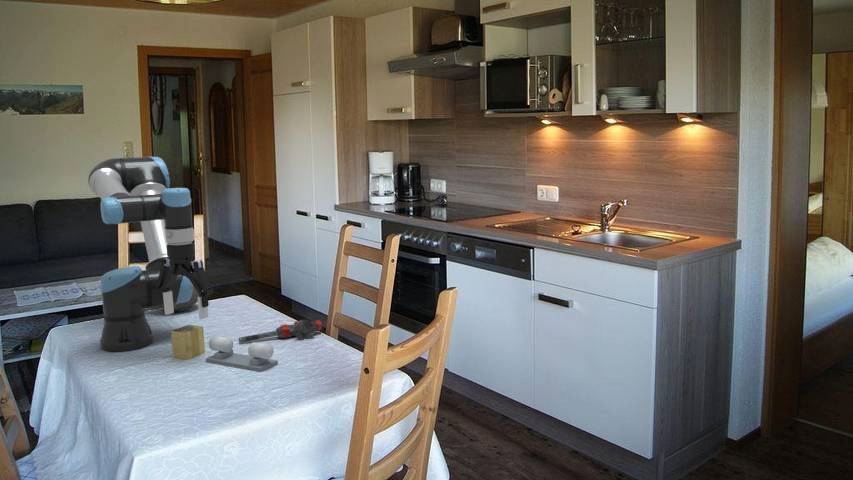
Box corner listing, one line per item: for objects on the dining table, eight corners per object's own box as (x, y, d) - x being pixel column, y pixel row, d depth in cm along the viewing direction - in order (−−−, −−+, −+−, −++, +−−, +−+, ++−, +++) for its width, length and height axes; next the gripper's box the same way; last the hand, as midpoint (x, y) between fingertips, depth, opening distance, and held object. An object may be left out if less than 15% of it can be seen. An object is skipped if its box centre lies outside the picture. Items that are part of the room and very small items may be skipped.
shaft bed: (206, 361, 208) (204, 339, 207) (223, 354, 214) (222, 333, 213) (261, 371, 199) (259, 348, 197) (277, 363, 205) (276, 341, 204)
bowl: (175, 318, 255) (171, 282, 253) (140, 312, 264) (137, 278, 262) (213, 306, 270) (211, 272, 268) (179, 301, 279) (176, 268, 277)
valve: (317, 331, 243) (327, 336, 229) (236, 345, 234) (242, 352, 220) (314, 312, 243) (324, 316, 228) (234, 325, 234) (239, 331, 220)
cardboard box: (187, 360, 210) (184, 333, 209) (173, 357, 213) (170, 330, 211) (205, 353, 216) (203, 326, 215) (191, 350, 219) (189, 324, 217)
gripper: (138, 242, 211) (145, 314, 215) (203, 247, 200) (209, 323, 203) (159, 238, 218) (165, 308, 221) (222, 243, 206) (228, 316, 209)
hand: (186, 316), depth 212 cm, fingers open, 13 cm apart
